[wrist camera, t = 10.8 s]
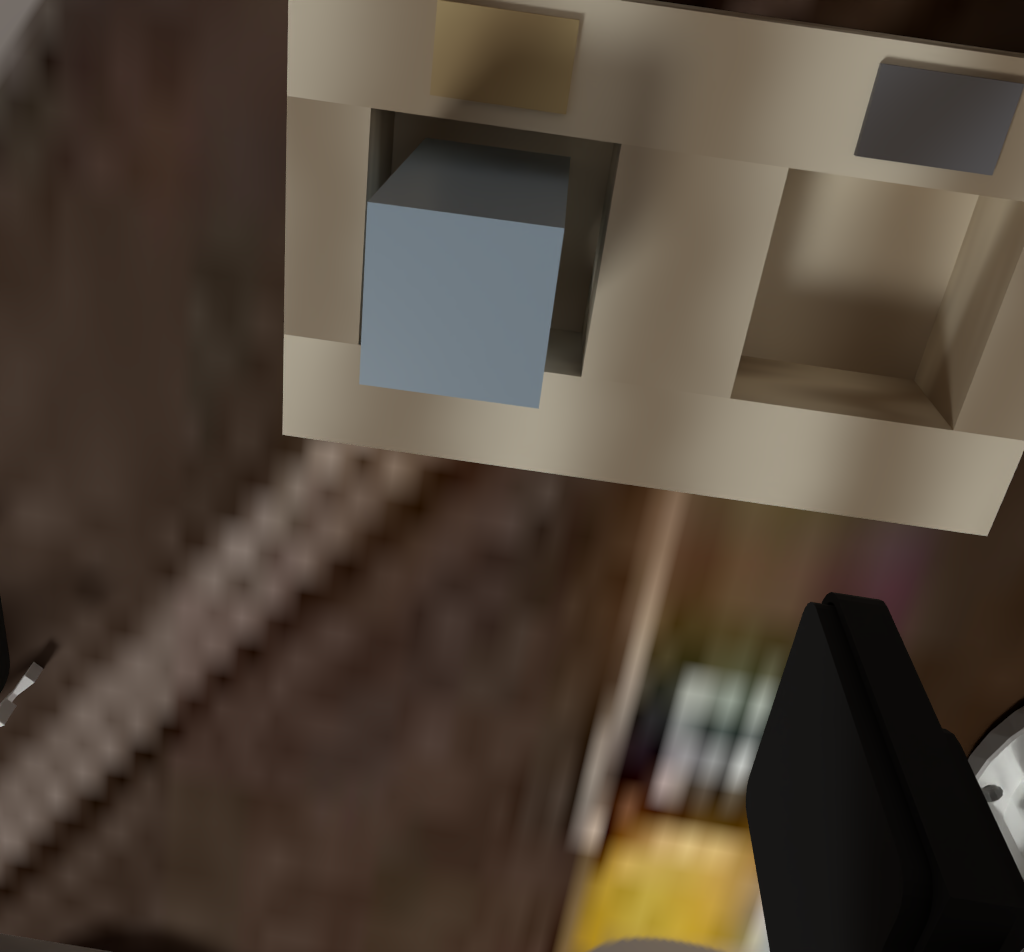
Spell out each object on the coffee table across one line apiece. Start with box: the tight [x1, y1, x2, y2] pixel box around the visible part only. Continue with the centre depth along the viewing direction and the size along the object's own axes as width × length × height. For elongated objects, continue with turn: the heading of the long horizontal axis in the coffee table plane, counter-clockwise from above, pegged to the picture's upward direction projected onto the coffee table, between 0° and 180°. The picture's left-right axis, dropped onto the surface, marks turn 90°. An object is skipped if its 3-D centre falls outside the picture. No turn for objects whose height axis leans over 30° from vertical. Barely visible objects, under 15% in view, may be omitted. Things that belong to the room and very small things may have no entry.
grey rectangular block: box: [359, 138, 570, 409], centre depth 24 cm, size 4×4×8 cm
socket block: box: [283, 0, 1024, 536], centre depth 26 cm, size 20×12×4 cm, turn 83°
